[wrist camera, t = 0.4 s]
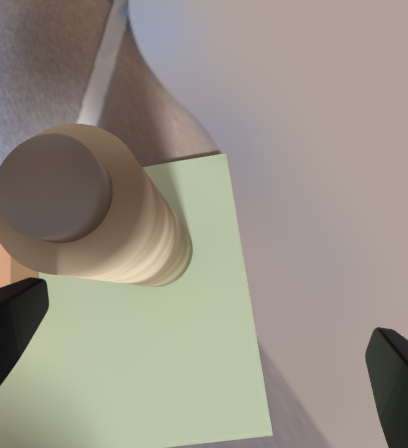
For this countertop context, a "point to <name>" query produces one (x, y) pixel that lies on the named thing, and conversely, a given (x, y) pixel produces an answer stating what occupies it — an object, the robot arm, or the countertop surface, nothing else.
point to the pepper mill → (88, 211)
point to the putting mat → (148, 343)
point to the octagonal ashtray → (13, 269)
